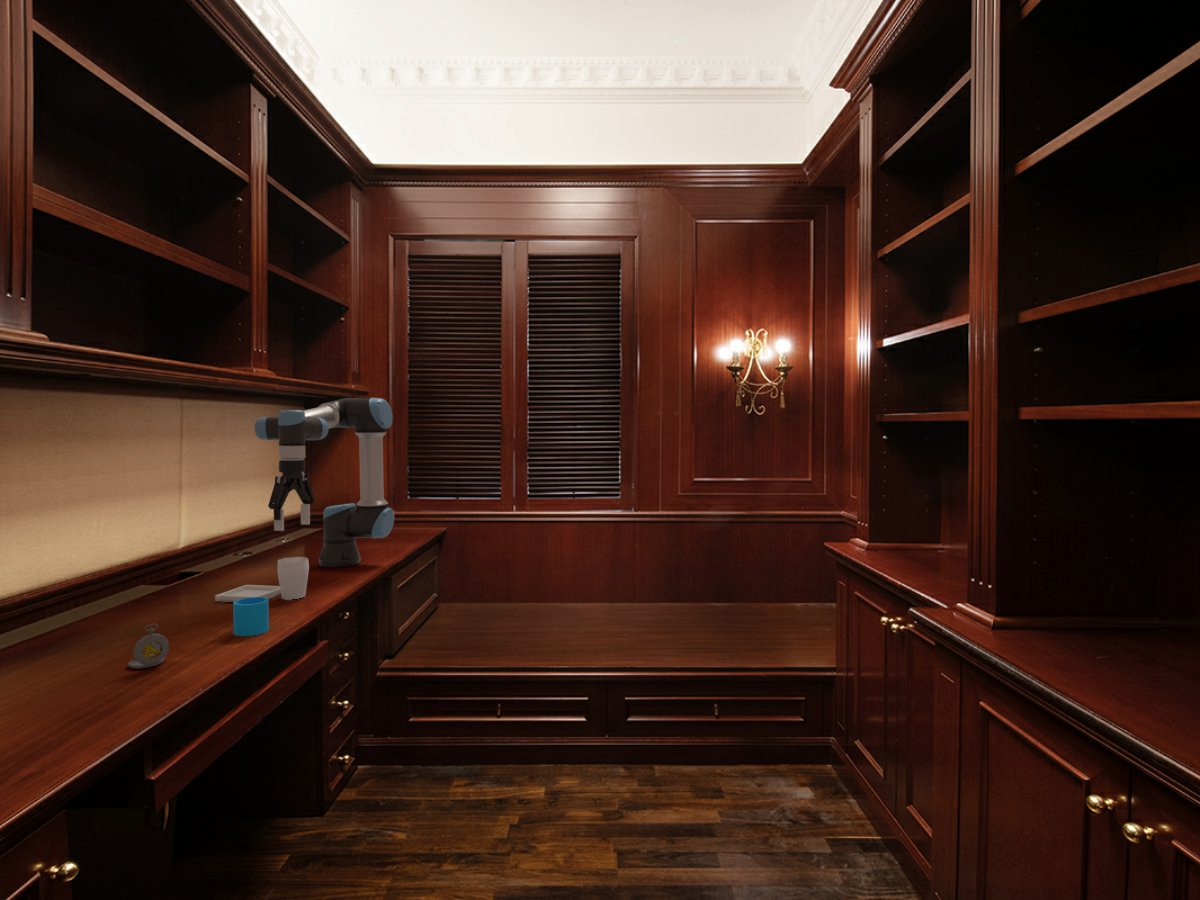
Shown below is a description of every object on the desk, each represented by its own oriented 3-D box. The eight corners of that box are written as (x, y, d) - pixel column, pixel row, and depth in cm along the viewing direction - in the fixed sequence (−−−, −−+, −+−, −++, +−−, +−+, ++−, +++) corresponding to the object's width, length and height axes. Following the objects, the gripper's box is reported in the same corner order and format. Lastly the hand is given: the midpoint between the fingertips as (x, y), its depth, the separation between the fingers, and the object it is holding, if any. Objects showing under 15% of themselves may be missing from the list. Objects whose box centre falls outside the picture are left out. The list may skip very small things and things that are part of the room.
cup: (296, 602, 200) (296, 563, 200) (270, 600, 202) (270, 561, 202) (315, 595, 209) (315, 557, 209) (290, 593, 211) (289, 556, 211)
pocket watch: (144, 659, 151) (143, 615, 151) (178, 660, 150) (178, 617, 150) (114, 672, 143) (114, 626, 142) (150, 673, 142) (149, 627, 142)
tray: (246, 590, 214) (246, 584, 214) (285, 592, 212) (285, 586, 212) (215, 602, 200) (215, 595, 200) (257, 603, 198) (257, 597, 198)
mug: (258, 637, 167) (258, 605, 167) (226, 636, 167) (226, 605, 167) (282, 623, 179) (281, 593, 179) (252, 622, 179) (251, 593, 179)
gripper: (304, 457, 218) (305, 521, 218) (254, 461, 193) (255, 533, 194) (325, 458, 217) (326, 522, 217) (278, 461, 192) (278, 533, 193)
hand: (292, 527), depth 205 cm, fingers open, 13 cm apart
